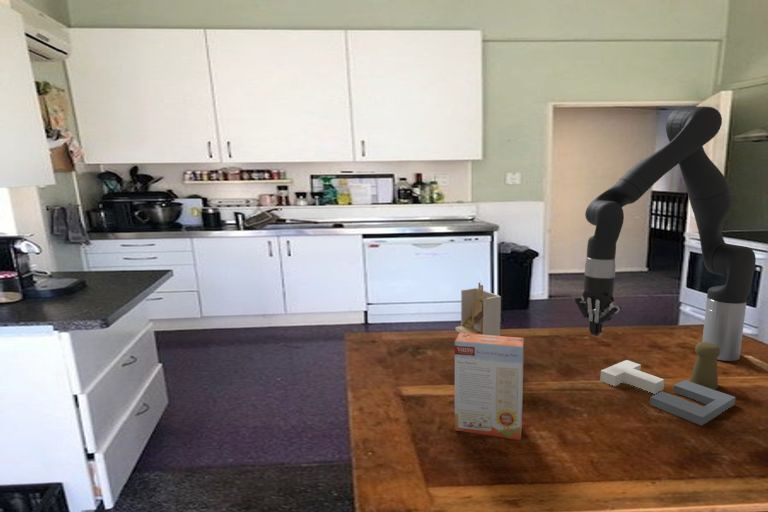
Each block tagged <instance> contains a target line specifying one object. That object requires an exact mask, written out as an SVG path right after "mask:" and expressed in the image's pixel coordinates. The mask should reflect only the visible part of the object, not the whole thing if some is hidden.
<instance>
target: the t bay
mask: <svg viewBox="0 0 768 512" xmlns="http://www.w3.org/2000/svg"><path fill="white" fill-rule="evenodd" d="M673 392H675V393H674V394H676V393H677V394H676V395H679V394H680V396H681V395H683V396H682V397H684V396H686V397H685V398H687V397H688V398H687V399H689V398H691V399H690V400H692V399H694V400H693V401H695V400H696V401H695V402H698V401H699V402H698V403H700V402H701V404H704V406H703V405H700V404H697V403H695V402H692V401H689V400H686V399H684V398H682V397H679V396H676V395H674V394H672V393H668V392H666V391H664V390H663V391H661V392H659V393H657V394H655V395H654V394H653V395H651V396H650V400H649V405H650V406H652V407H654V406H655V407H654V408H656V407H657V409H659V410H661V409H662V411H664V412H667V413H669V414H671V415H673V416H677V417H679V418H682V419H684V420H686V421H689V422H691V423H694V424H696V425H699V426H701V427H702V426H704V425H705V424H707V423H708V422H710V421H712V420H714V419H715V418H716V417H718V416H719V415H721V414H722V412H723V413H724V412H725V410H726V411H728V408H729V409H730V408H731V407H734V406H735V402H736V396H733V395H731V394H727V393H725V392H721V391H719V390H717V389H710V388H707V387H704V386H701V385H698V384H695V383H693V382H690V380H687V379H683V380H682V381H679V382H677V383H676V384H674V385H673Z"/></svg>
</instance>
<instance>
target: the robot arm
mask: <svg viewBox="0 0 768 512" xmlns="http://www.w3.org/2000/svg"><path fill="white" fill-rule="evenodd" d="M722 123H723V117H722V115H721V113H720V111H719V110H718V109H716V108H715V107H713V106H688V107H680V108H677V109H675V110H673V111H672V112H671V113H670V114H669V115H668V117H667V118H666V124H665V132H666V136H667V139H668V143H667V144H666V145H664V146H663V147H661V148H660V149H658V150H657V151H655V152H654V153H652V154H650V155H649V156H647V157H645V158H643V159H642V160H640V161H638V162H637V163H636V164H635V165H633V166H632V167H631V168H630V169H628V170H627V172H625V174H623V176H621V178H619V179H618V181H617V182H616V183H615V184H614V185H612V186H611V187H609V188H608V189H606V190H605V191H603V193H601V194H599V195H598V196H596V197H595V198H594V199H593V200H592V201H591V202H590V203H589V204H588V205H587V207H586V209H585V215H584V216H585V220H586V221H587V222H588V223H589V224H590V225H593V226H595V230H594V234H593V236H590V237H589V238H588V240H587V248H586V258H585V259H586V260H585V264H584V277H583V290H584V291H583V292H582V295H581V296H580V297H577V298H575V299H574V302H575V303H576V306H577V307H578V309H579V311H580V313H581V314H582V316H583V318H587V319H588V321H589V327H588V328H589V329H588V330H589V333H590V335H592V336H599V335H600V334H602V332H603V323H607V322H609V321H611V320H612V319H613V318H614V317H615V316H616V315H618V313H620V311H621V310H622V307H621V306H620V305H617V304H616V303H615V298H614V295H613V294H614V290H615V278H616V266H617V265H616V254H617V251H616V250H617V242H618V240H619V237H620V234H621V230H622V228H623V224H624V220H625V219H624V218H625V215H624V214H625V213H624V209H623V207H625V206H627V205H631V204H634V203H636V202H637V201H638V200H639V199H640V198H641V197H642V196H643V195H645V193H647V192H648V191H649V189H651V188H652V187H653V186H654V185H655V184H657V182H658V181H659V180H660V179H661V178H663V177H664V176H665V175H666V174H668V173H669V172H670V171H671V170H672V169H673V168H675V167H676V166H678V165H679V168H680V172H681V175H682V178H683V181H684V185H685V188H686V191H687V195H688V197H687V198H688V199H689V203H690V207H691V210H692V213H693V216H694V220H695V224H696V228H697V231H698V235H699V236H698V237H699V241H700V249H701V255H702V261H703V264H704V267H705V268H706V270H707V271H708V272H709V273H710V274H714V275H719V276H723V277H726V282H725V284H722V285H716V286H711V287H709V288H708V289H707V295H706V302H705V313H704V323H703V330H702V331H703V332H702V341H701V342H708V343H713V344H715V345H717V346H718V347H719V349H720V355H719V357H717V361H718V360H719V361H724V362H737V361H738V360H740V358H741V357H740V356H741V347H742V339H743V333H744V327H745V318H746V317H745V315H746V308H747V302H748V297H749V295H750V293H751V288H752V284H753V279H754V278H753V277H754V273H755V269H756V263H757V262H756V260H757V259H756V253H755V251H754V250H753V249H752V248H750V247H748V246H741V245H736V244H728V243H726V242H725V240H724V237H723V236H724V235H723V230H722V229H723V225H724V223H725V221H726V220H727V218H728V216H729V214H730V212H731V209H732V206H733V199H732V198H733V197H732V195H731V190H730V185H729V183H728V180H727V179H726V177H725V175H724V174H723V173H722V172H721V171H720V169H719V168H718V167H717V166H716V165H715V163H714V162H713V161H712V160H711V159H710V158H709V156H708V154H707V153H706V151H705V149H704V145H706V144H708V143H709V142H710V141H711V140H712V139H713V138H715V137H716V135H717V134H718V133H719V132H720V130H721V127H722ZM607 309H608V312H607Z"/></svg>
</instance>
